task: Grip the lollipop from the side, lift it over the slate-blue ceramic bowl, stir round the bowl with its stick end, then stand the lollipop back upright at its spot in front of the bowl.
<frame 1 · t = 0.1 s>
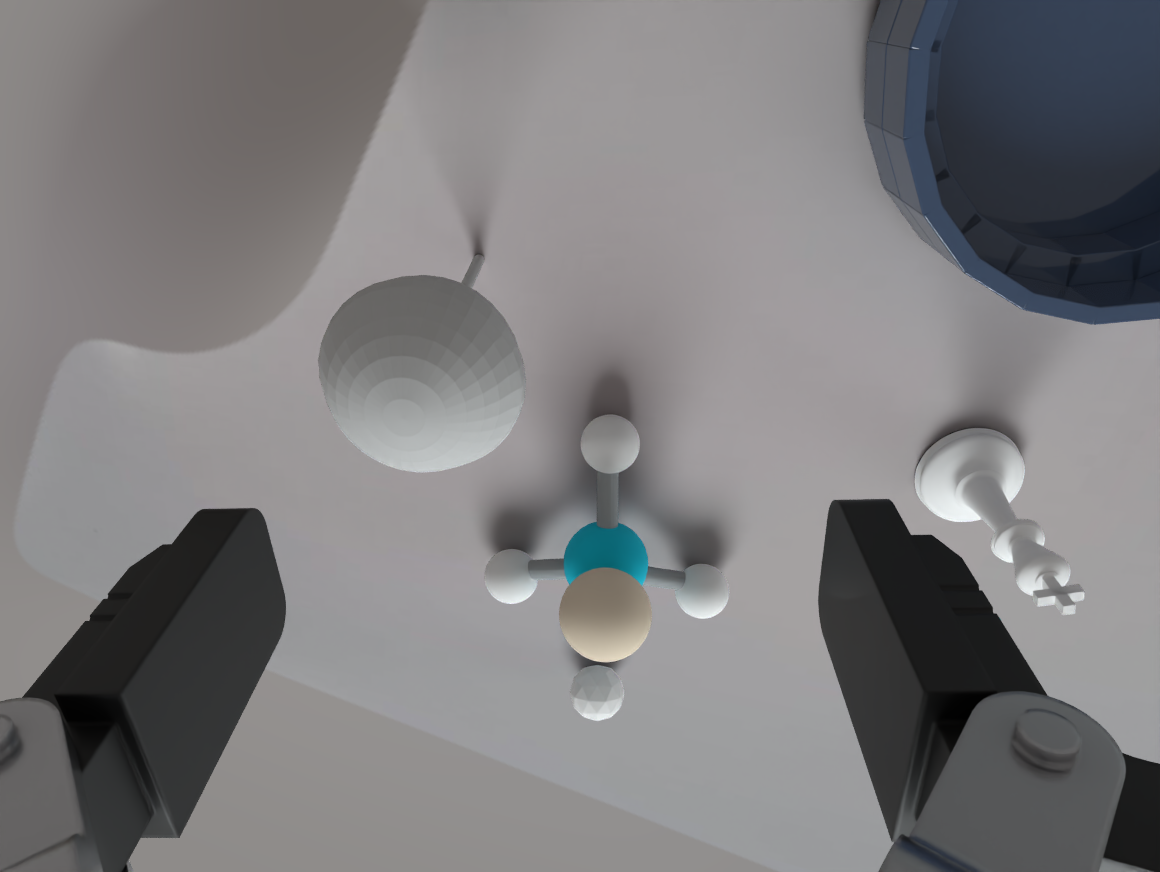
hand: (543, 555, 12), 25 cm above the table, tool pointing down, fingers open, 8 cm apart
chess piece: (965, 470, 40), on the table
bowl: (1097, 51, 31), on the table
molecule model: (595, 512, 42), on the table
lollipop: (479, 258, 36), on the table
polyhedron: (597, 669, 47), on the table
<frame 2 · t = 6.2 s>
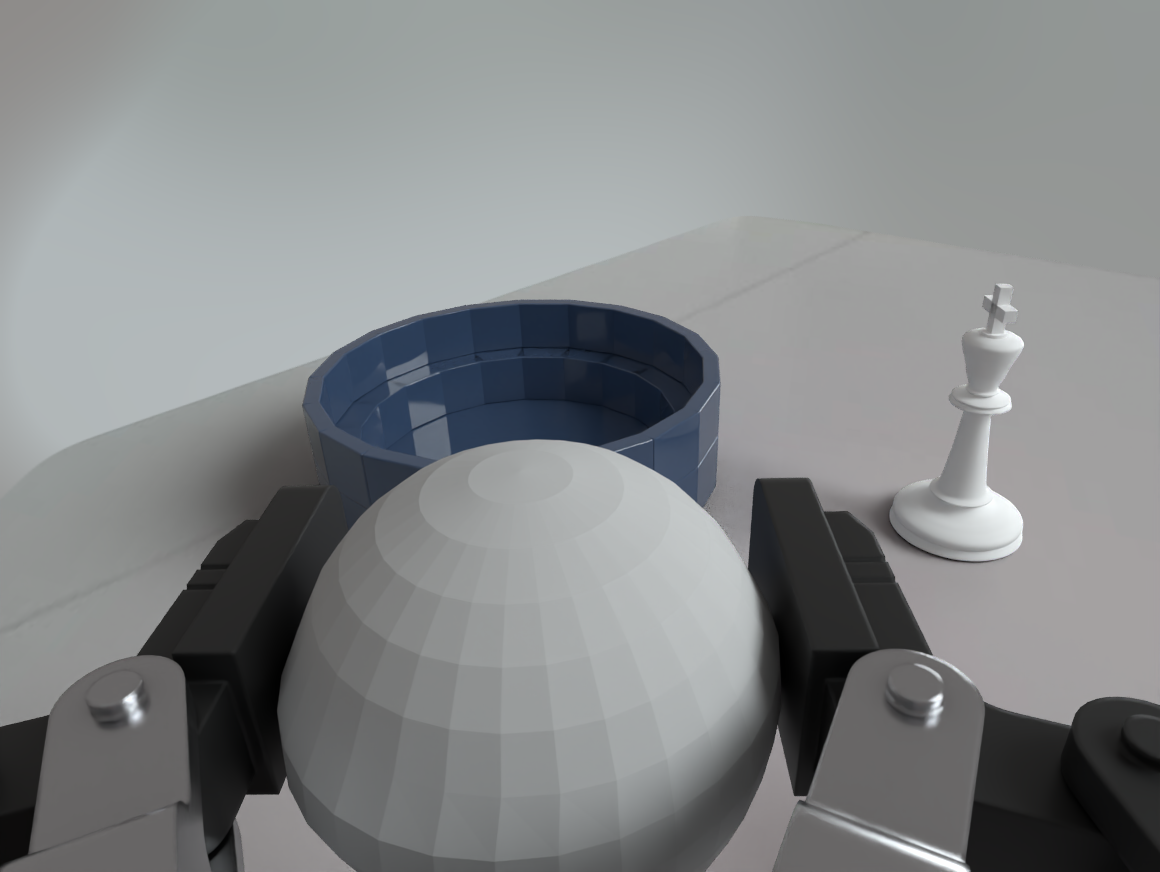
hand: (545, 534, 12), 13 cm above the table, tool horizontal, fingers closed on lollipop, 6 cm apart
chess piece: (952, 529, 33), on the table
bowl: (523, 476, 38), on the table
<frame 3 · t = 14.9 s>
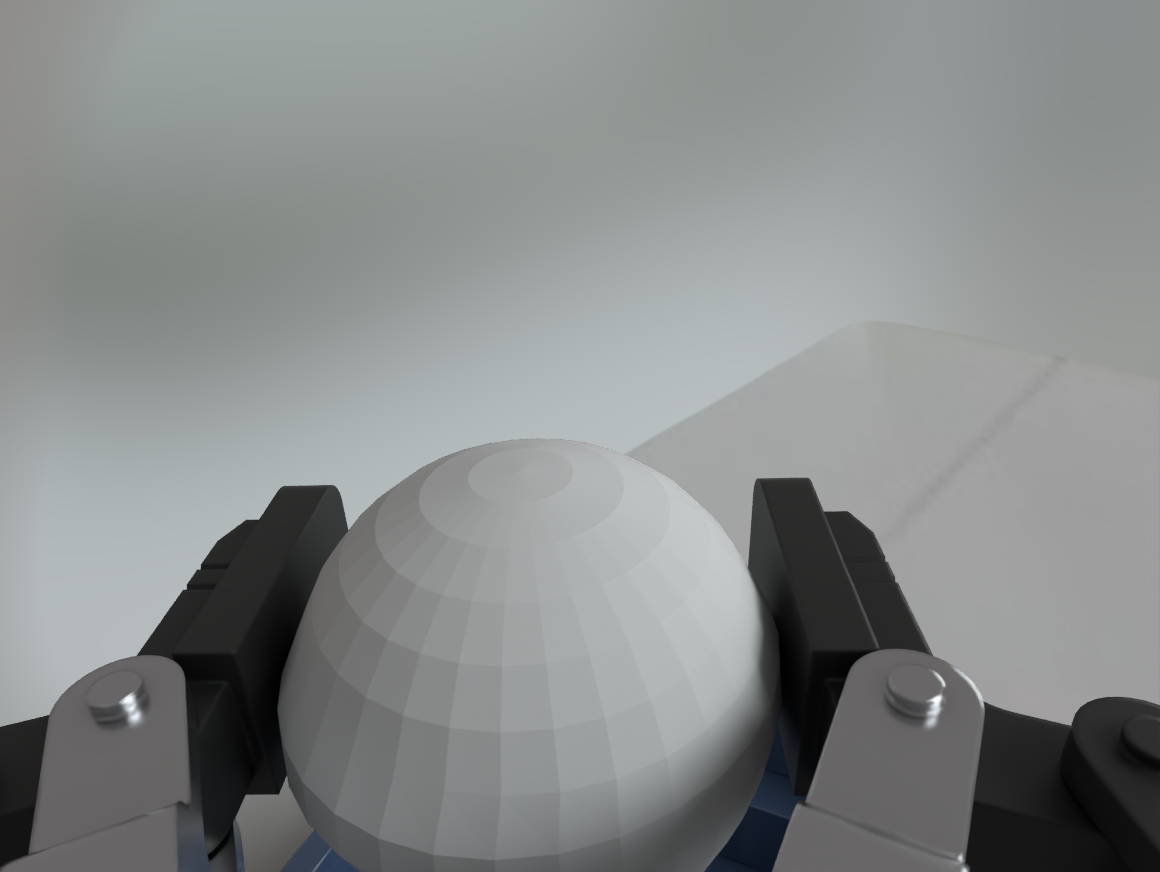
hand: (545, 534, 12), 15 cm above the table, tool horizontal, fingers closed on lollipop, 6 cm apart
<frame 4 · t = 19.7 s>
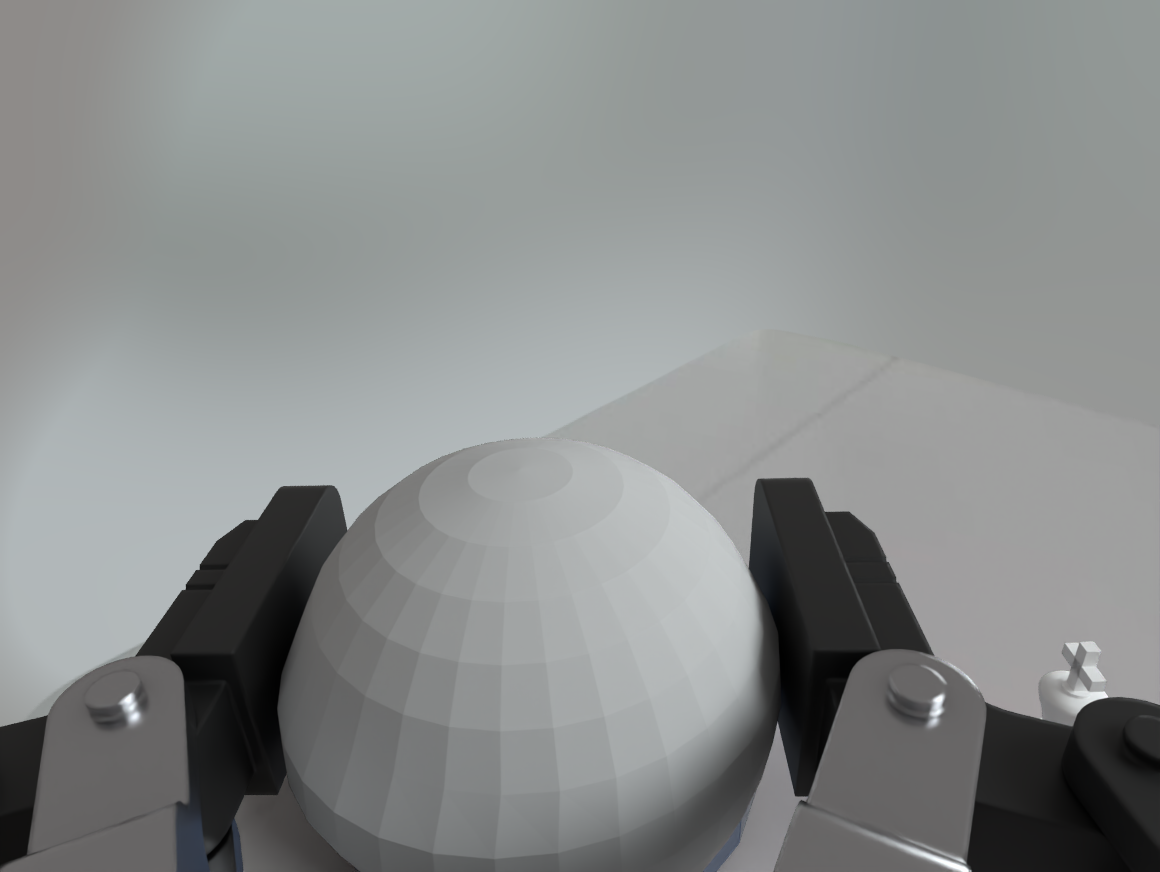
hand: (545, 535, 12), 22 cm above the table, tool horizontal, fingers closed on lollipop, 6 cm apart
chess piece: (1019, 853, 31), on the table
bowl: (547, 752, 35), on the table
when the fingers open (12 cm above the table, at t = 23.8 s): lollipop stays where it is, on the table.
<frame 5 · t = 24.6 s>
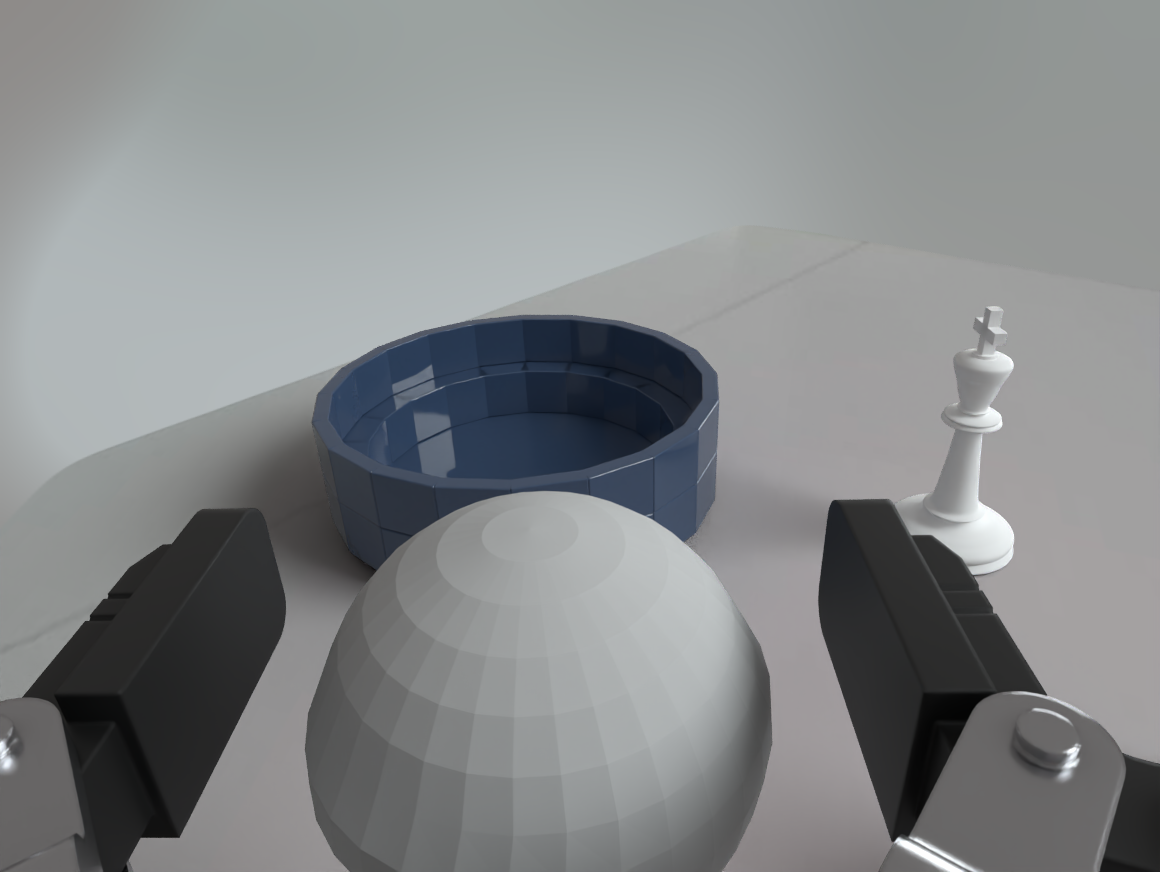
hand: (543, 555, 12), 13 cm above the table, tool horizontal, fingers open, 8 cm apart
chess piece: (946, 543, 34), on the table
bowl: (526, 489, 39), on the table
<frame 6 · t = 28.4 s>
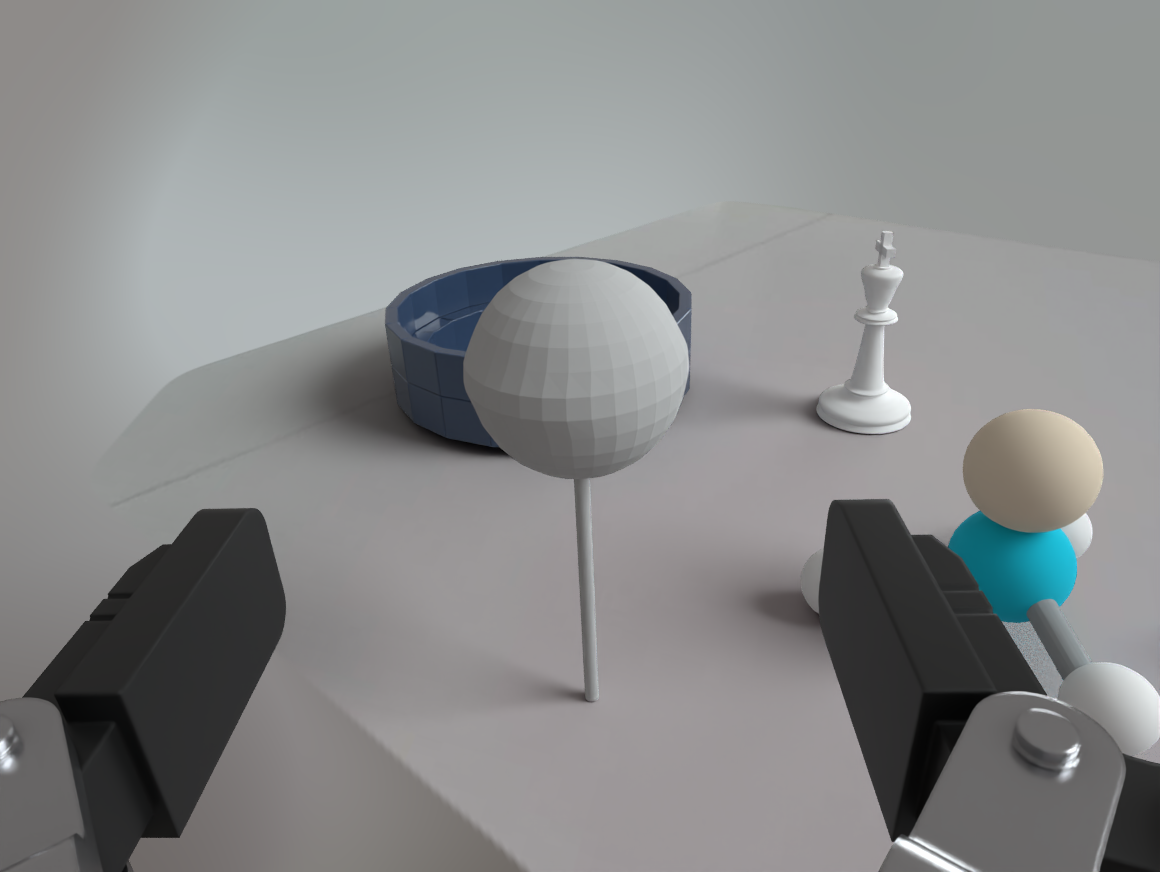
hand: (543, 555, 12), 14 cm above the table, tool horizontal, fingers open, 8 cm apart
chess piece: (862, 416, 46), on the table
bowl: (544, 386, 50), on the table
molecule model: (972, 643, 30), on the table
lollipop: (592, 700, 28), on the table
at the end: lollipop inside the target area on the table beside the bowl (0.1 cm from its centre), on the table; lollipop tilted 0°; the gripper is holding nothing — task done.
